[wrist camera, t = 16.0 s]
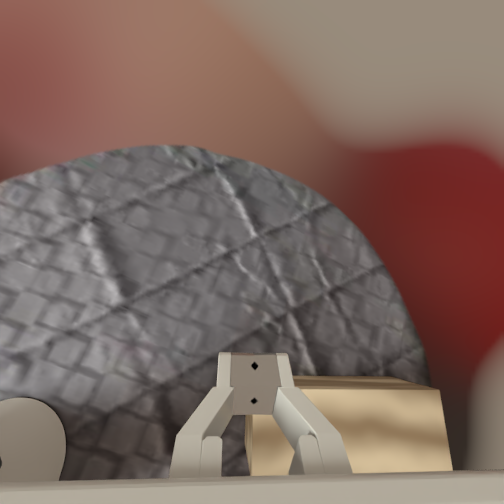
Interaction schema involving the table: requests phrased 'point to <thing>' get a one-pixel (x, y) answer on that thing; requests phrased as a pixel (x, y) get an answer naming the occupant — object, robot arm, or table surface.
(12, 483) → the robot arm
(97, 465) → the table surface
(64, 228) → the table surface
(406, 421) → the key console
